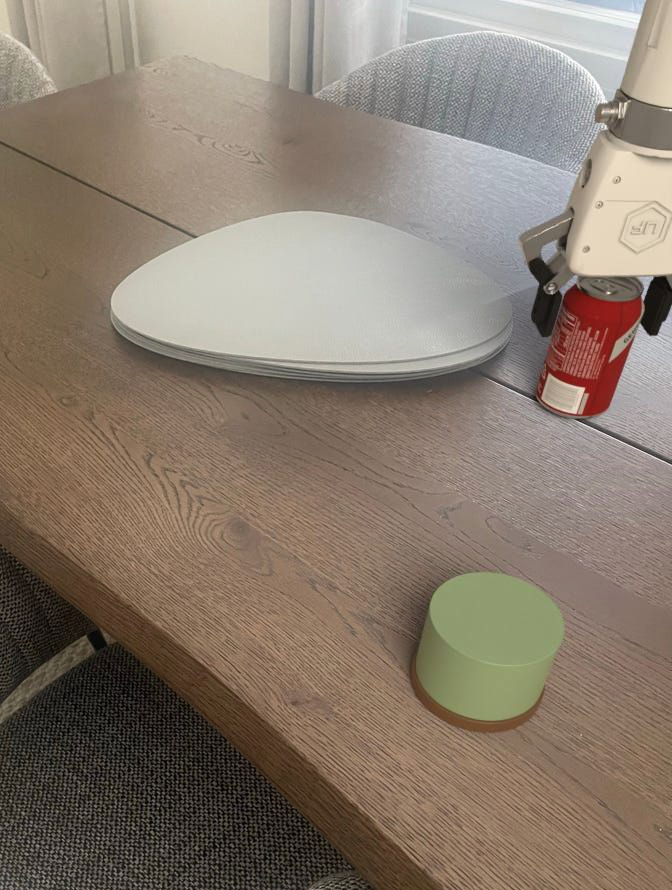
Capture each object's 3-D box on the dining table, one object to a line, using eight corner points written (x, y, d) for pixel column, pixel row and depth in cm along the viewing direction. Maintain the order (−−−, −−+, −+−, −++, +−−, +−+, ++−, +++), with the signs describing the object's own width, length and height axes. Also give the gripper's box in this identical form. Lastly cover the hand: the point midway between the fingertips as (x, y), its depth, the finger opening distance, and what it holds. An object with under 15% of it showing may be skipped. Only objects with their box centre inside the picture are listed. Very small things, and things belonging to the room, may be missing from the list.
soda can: (573, 433, 88) (615, 309, 79) (518, 398, 92) (552, 277, 83) (622, 409, 90) (669, 288, 82) (567, 377, 94) (605, 257, 86)
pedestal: (522, 633, 71) (545, 567, 66) (557, 731, 65) (586, 666, 60) (399, 636, 70) (414, 570, 66) (423, 734, 64) (442, 670, 60)
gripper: (565, 139, 70) (507, 352, 83) (799, 137, 71) (707, 349, 83) (536, 103, 75) (486, 309, 88) (755, 101, 76) (674, 306, 88)
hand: (594, 328), depth 86 cm, fingers open, 9 cm apart
